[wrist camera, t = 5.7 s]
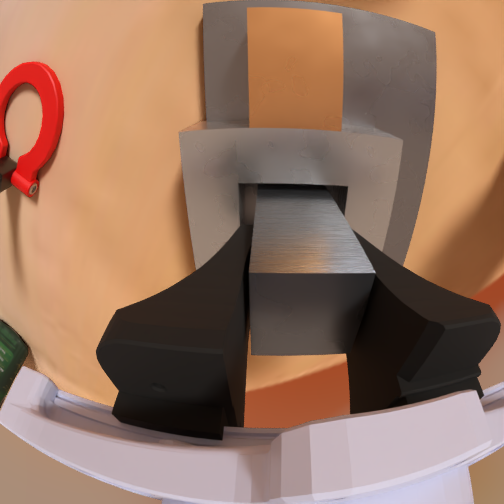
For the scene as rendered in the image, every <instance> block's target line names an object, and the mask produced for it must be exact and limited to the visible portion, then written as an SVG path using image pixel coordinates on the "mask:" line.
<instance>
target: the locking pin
mask: <svg viewBox="0 0 504 504" xmlns="http://www.w3.org/2000/svg"><path fill="white" fill-rule="evenodd" d="M375 274H376V272H375V270H374V269H373V267H372V265H371V263H370V261H369V259H368V257H367V256H366V254H365V252H364V250H363V248H362V246H361V245H360V243H359V241H358V239H357V238H356V236H355V234H354V232H353V231H352V229H351V227H350V226H349V224H348V222H347V220H346V219H345V217H344V215H343V214H342V212H341V211H340V209H339V207H338V206H337V204H336V202H335V201H334V199H333V198H332V196H331V194H330V193H329V191H328V190H327V188H326V187H325V185H318V184H287V183H258V188H257V198H256V208H255V218H254V227H253V237H252V247H251V257H250V267H249V294H250V329H251V355H276V356H285V355H326V354H344V353H350V352H351V349H352V346H353V344H354V341H355V338H356V335H357V332H358V330H359V327H360V324H361V321H362V318H363V315H364V311H365V308H366V305H367V302H368V299H369V295H370V292H371V288H372V285H373V281H374V278H375Z"/></svg>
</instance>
